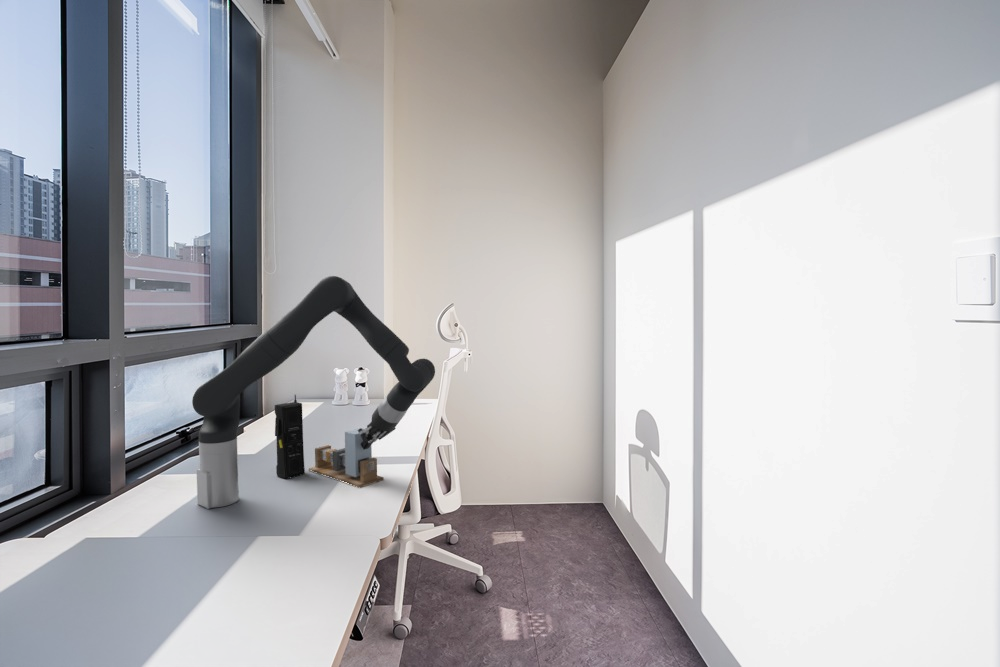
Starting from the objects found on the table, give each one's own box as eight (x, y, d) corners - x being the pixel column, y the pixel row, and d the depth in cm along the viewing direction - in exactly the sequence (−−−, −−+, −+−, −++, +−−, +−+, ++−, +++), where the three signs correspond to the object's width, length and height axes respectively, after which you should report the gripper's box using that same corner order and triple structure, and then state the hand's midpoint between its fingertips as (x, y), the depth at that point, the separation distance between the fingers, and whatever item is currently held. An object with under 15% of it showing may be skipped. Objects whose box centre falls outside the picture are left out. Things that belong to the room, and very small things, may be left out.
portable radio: (283, 480, 165) (281, 399, 164) (272, 476, 169) (270, 397, 167) (306, 474, 171) (304, 395, 170) (295, 470, 175) (293, 393, 174)
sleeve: (371, 472, 167) (371, 430, 166) (355, 477, 162) (355, 434, 161) (361, 469, 170) (361, 428, 169) (345, 473, 165) (344, 431, 165)
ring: (353, 466, 173) (352, 448, 172) (336, 471, 168) (336, 452, 168) (349, 465, 174) (348, 447, 174) (333, 470, 169) (332, 451, 169)
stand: (383, 479, 166) (383, 457, 166) (359, 487, 159) (358, 464, 158) (332, 464, 182) (332, 443, 182) (308, 470, 175) (308, 449, 175)
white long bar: (374, 471, 164) (374, 460, 164) (365, 473, 161) (365, 462, 161) (326, 456, 179) (326, 446, 179) (317, 459, 177) (317, 448, 176)
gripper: (401, 398, 162) (376, 432, 170) (365, 404, 152) (340, 441, 160) (414, 418, 159) (387, 452, 167) (378, 426, 149) (351, 462, 157)
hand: (364, 446), depth 164 cm, fingers closed
